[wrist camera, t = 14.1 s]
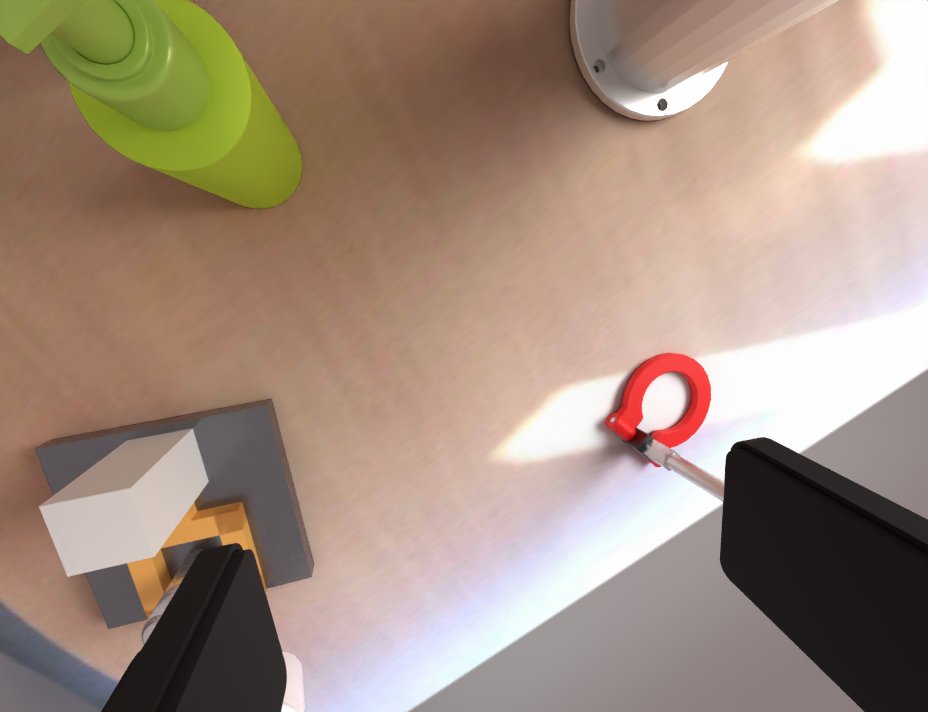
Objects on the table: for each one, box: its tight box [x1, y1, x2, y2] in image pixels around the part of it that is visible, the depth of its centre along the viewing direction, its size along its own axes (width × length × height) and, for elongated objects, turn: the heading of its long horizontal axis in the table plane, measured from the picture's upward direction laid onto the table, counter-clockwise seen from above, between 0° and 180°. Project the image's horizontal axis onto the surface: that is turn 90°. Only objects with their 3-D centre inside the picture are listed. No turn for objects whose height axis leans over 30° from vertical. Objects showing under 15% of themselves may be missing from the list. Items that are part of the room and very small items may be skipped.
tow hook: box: [606, 353, 724, 501], centre depth 33 cm, size 8×13×9 cm
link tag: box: [39, 428, 267, 619], centre depth 27 cm, size 13×7×8 cm, turn 7°
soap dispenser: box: [0, 0, 302, 209], centre depth 19 cm, size 6×7×20 cm
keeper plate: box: [35, 399, 314, 644], centre depth 28 cm, size 14×14×8 cm
